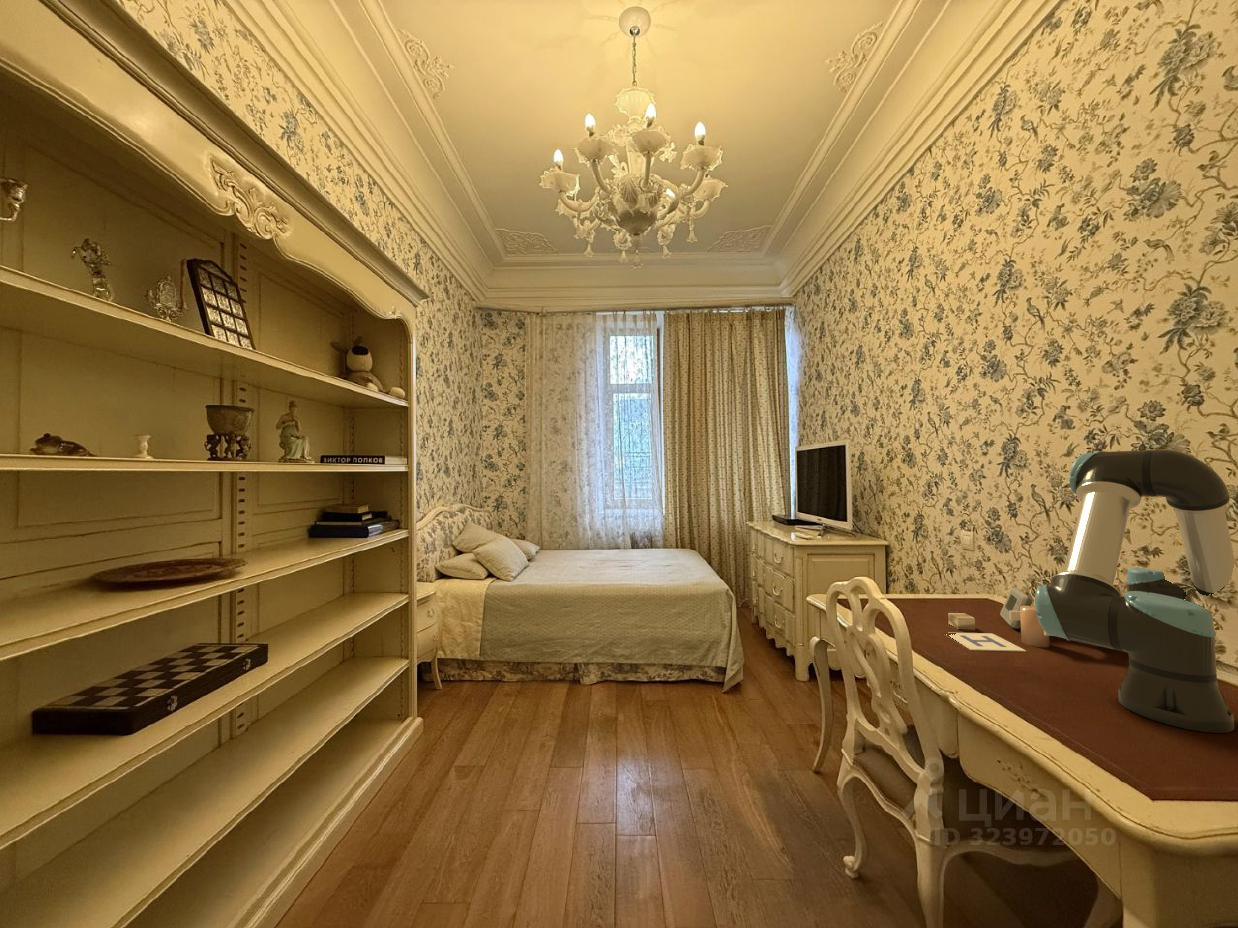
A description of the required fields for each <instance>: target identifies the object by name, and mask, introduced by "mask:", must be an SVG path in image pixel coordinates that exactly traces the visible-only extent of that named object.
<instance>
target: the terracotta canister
mask: <svg viewBox="0 0 1238 928" xmlns="http://www.w3.org/2000/svg"><path fill="white" fill-rule="evenodd" d="M1020 618H1021V628H1020V640H1021V643H1022V644H1025V645H1027V646H1031V647H1036V648H1049V647H1050V636H1046V635H1044V630H1043V628H1042V627H1041V625H1040V623H1039V621H1038V618H1037V614H1036V608H1035V606H1033V605H1031V606H1020Z"/></svg>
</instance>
